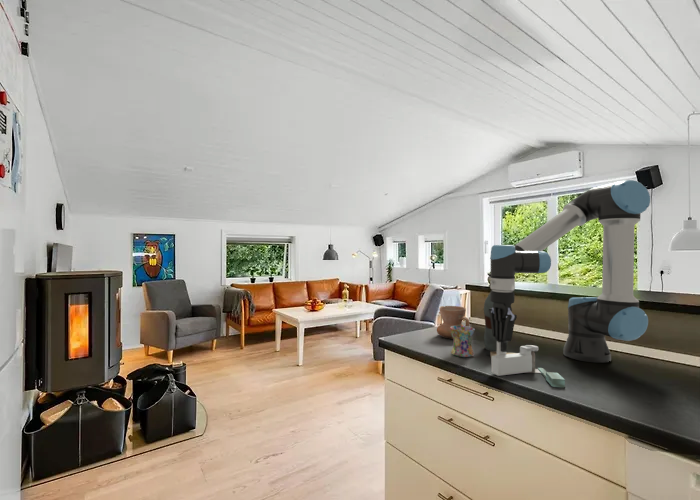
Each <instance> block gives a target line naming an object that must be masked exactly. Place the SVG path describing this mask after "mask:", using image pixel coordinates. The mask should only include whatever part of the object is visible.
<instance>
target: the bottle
mask: <svg viewBox="0 0 700 500" xmlns="http://www.w3.org/2000/svg"><path fill="white" fill-rule="evenodd" d="M489 308H493V302H491V301H490V293H488V295H487V297H486V298H485V300H484V305H483V313H484V324H485V327H484V335H483V342H484V347H485V349H486V350H487V351H490V352H497V340H496V339H495V337H493V335H492V327H491V319H490V313H489ZM508 344H509V342H507V346H508Z"/></svg>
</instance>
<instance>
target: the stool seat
mask: <svg viewBox="0 0 700 500" xmlns="http://www.w3.org/2000/svg"><path fill="white" fill-rule="evenodd" d="M489 353H490V355H489V357H490V358H491V356H495V355H497V352H495V351H490V352H489ZM514 353H515V352H506V354H514ZM531 355H532V372H528V373H532V374H541V375H543V377H544V378H545V381H546V382H547V383H549V385H550V386H551V387H554V388H565V387H566V379H565V378H564V377H563V376H562V375H560V374H559V373H558V372H553V371H552V372H550V371H547V370H546V369H545V368H543V367H537V368H536V351H531Z"/></svg>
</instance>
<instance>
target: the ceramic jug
mask: <svg viewBox="0 0 700 500" xmlns="http://www.w3.org/2000/svg"><path fill="white" fill-rule="evenodd" d="M466 310H467V308H466V307H464V306H459V305H444V306H443V305H442V306H439V312H438V314H439V315H440V317H441V320H442V323H441V324H440V325H438V326H437V328H436V332H437V334H438V335H439V336H440V337H442V338H445V339H451V340H453V338H452V335H451V329H450V327H452V326H468V327H470V320H469V318H468V317H467V316H465V315H466V313H467V311H466ZM463 321H464V322H465V325H464V324H462V323H463Z"/></svg>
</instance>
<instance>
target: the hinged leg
mask: <svg viewBox="0 0 700 500" xmlns="http://www.w3.org/2000/svg"><path fill="white" fill-rule="evenodd" d="M531 351H535V352H538V351H539V346H537V345H532V344H526V345H525V344H524V345H521V346H520V347H519V352H513V353H514V354H505V355H495V356H491V357H490V359H491V360H490V361H491V363H490V364H491V373H492V374H493V375H496V376H498V377H499V376H506V375H515V374H523V373H529V372H532V355H531Z"/></svg>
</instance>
